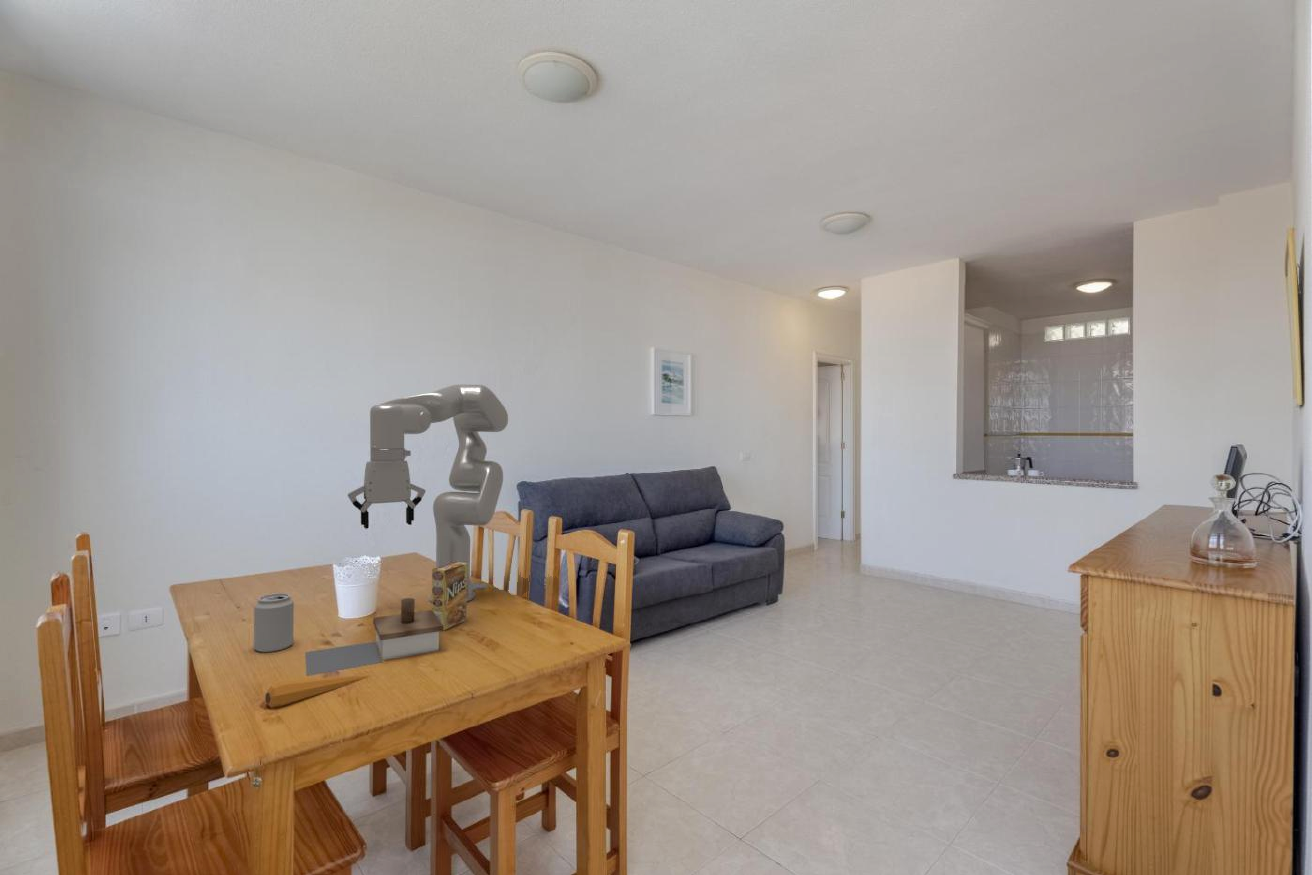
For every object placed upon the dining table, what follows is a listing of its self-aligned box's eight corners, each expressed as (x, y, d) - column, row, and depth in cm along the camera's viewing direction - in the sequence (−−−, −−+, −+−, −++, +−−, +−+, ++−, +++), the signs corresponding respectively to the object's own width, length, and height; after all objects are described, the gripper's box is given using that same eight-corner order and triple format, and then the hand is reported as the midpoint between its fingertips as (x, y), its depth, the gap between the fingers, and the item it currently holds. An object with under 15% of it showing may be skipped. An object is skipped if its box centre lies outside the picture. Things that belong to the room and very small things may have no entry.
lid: (431, 614, 144) (432, 589, 144) (443, 630, 133) (443, 603, 133) (373, 622, 138) (373, 596, 137) (380, 640, 127) (380, 611, 126)
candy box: (444, 631, 147) (445, 570, 147) (430, 629, 149) (431, 568, 148) (467, 620, 155) (468, 562, 155) (453, 618, 157) (454, 561, 157)
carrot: (267, 717, 105) (274, 696, 104) (260, 699, 107) (266, 679, 107) (379, 691, 120) (385, 672, 119) (370, 676, 123) (376, 658, 122)
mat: (374, 643, 138) (374, 641, 138) (382, 664, 126) (382, 662, 126) (305, 653, 131) (305, 652, 131) (306, 677, 119) (306, 675, 119)
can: (301, 645, 136) (301, 593, 136) (270, 656, 129) (270, 602, 129) (277, 640, 139) (277, 589, 138) (245, 651, 131) (246, 598, 131)
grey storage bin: (428, 636, 144) (428, 615, 143) (438, 652, 134) (439, 630, 134) (376, 644, 137) (376, 623, 137) (382, 662, 128) (383, 639, 127)
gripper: (421, 453, 151) (421, 520, 152) (345, 455, 141) (346, 526, 142) (428, 455, 145) (428, 525, 146) (349, 458, 135) (350, 532, 136)
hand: (387, 525), depth 144 cm, fingers open, 9 cm apart
